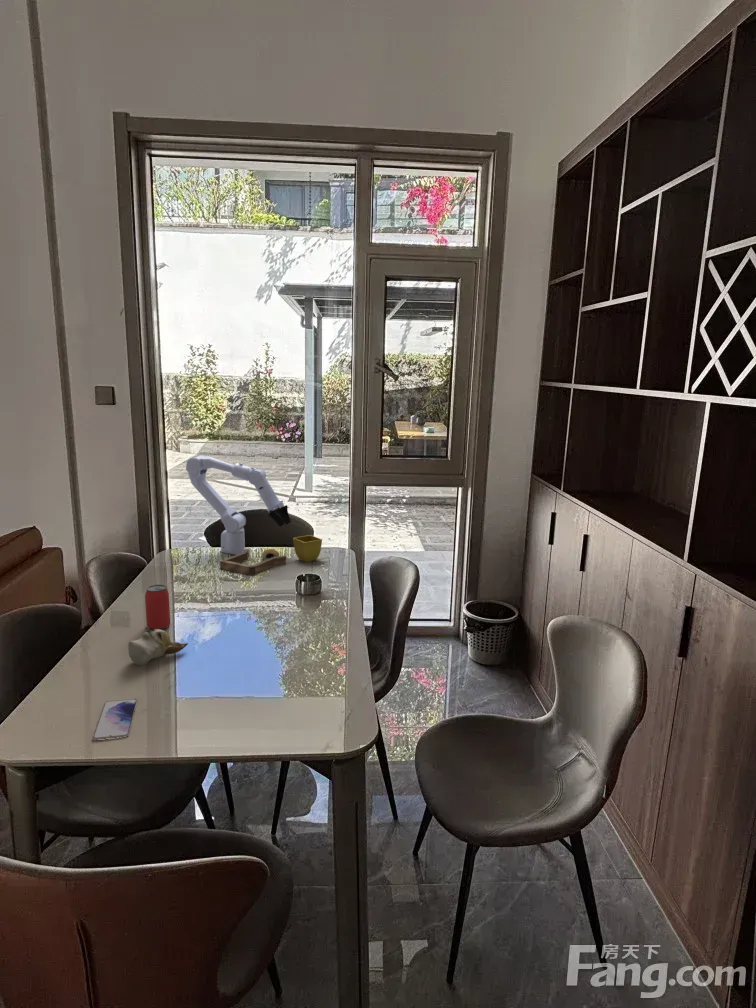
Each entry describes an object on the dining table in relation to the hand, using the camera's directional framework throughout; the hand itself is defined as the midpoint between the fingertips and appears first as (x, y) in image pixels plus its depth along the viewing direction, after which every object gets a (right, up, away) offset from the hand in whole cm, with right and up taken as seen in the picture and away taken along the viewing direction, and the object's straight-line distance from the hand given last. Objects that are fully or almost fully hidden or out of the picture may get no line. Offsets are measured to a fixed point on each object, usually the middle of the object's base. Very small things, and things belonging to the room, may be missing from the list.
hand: (285, 524), depth 250 cm
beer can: (-27, -28, -71) cm, 80 cm away
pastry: (-6, -14, -2) cm, 15 cm away
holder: (-11, -16, -13) cm, 23 cm away
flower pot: (+10, -14, -4) cm, 18 cm away
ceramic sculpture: (-21, -32, -90) cm, 98 cm away
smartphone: (-18, -39, -119) cm, 126 cm away
